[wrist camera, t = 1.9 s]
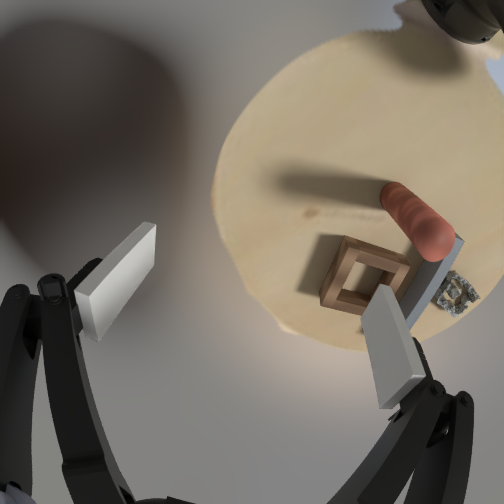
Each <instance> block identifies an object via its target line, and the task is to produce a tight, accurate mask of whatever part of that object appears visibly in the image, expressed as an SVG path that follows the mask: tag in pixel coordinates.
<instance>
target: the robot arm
mask: <svg viewBox="0 0 504 504" xmlns="http://www.w3.org/2000/svg"><path fill="white" fill-rule="evenodd" d="M422 2H423V4H424V6H425V7H426V9H427V11H428V12H429V14H430V15H431V16H432V18H433V19H434V20H435V21H436V22H437V24H438V25H439V26H440V27H441V28H442V29H444V30H445V31H446V32H447V33H448V34H450V35H451V36H452V37H454V38H456V39H457V40H459V41H461V42H464V43H467V44H474V45H475V44H481V43H485V42H487V41H489V40H490V39H491V38H492V37H493V36H494V35H495V34H496V33H497V32H498V31H499V30H500V29H502V31H503V33H504V0H422ZM155 234H156V225H155V224H152V223H148V222H143V223H142V224H141V225H140V226H139V227H138V228H137V229H136V230H134V231H133V232H132V233H131V234H130V235H129V236H128V237H127V238H126V239H125V240H124V241H123V242H121V243H120V244H119V245H118V246H117V247H116V248H115V249H114V250H113V251H112V252H111V253H110V254H109V255H108V256H107V257H106V258H105V259H104V260H103V259H100V258H95V259H93V260H91V261H89V262H88V263H87V264H86V265H85V266H84V267H83V269H81V270H80V271H79V272H78V274H76V275H75V276H74V277H73V278H72V279H71V280H70V281H69V282H68V283H67V284H66V281H65V278H64V277H63V276H62V275H60V274H48V275H45V276H44V277H42V278H41V279H40V280H39V281H38V284H37V287H38V291H39V294H40V296H39V295H32V294H30V291H29V288H28V287H27V286H26V285H24V284H16V285H14V286H12V287H11V288H9V289H8V291H7V292H6V294H5V296H4V299H3V302H2V304H1V306H0V504H36V502H35V501H34V500H33V499H32V498H31V495H32V455H31V432H32V412H33V399H34V389H35V381H36V374H37V367H38V361H39V355H40V350H41V345H43V356H44V357H43V358H44V367H45V375H46V383H47V390H48V397H49V402H50V408H51V413H52V418H53V422H54V426H55V430H56V435H57V439H58V443H59V446H60V449H61V453H62V457H63V464H62V472H63V476H64V479H65V482H66V485H67V487H68V490H69V492H70V495H71V497H72V500H73V502H74V504H194V503H190V502H186V501H183V500H179V499H175V498H172V497H168V496H167V499H162V498H152V499H145V500H139V501H136V500H135V498H134V496H133V494H132V492H131V490H130V489H129V487H128V485H127V483H126V481H125V479H124V478H123V476H122V474H121V472H120V470H119V468H118V465H117V463H116V461H115V458H114V456H113V454H112V451H111V448H110V446H109V443H108V440H107V438H106V435H105V432H104V429H103V427H102V424H101V421H100V417H99V414H98V411H97V408H96V405H95V401H94V398H93V394H92V390H91V387H90V383H89V379H88V375H87V371H86V366H85V362H84V358H83V352H82V347H81V342H80V337H79V333H80V331H81V330H82V329H83V330H84V334H85V337H87V338H90V339H92V340H94V341H96V342H100V340H101V339H102V337H103V335H104V334H105V333H106V331H107V330H108V328H109V327H110V325H111V323H112V322H113V321H114V319H115V318H116V317H117V315H118V314H119V312H120V311H121V309H122V308H123V307H124V305H125V304H126V302H127V301H128V300H129V298H130V297H131V296H132V294H133V293H134V291H135V290H136V289H137V287H138V286H139V284H140V283H141V282H142V281H143V279H144V278H145V276H146V275H147V274H148V273H149V271H150V270H151V269H152V267H153V266H154V252H155ZM360 319H361V323H362V327H363V331H364V335H365V339H366V344H367V348H368V352H369V357H370V361H371V366H372V371H373V376H374V381H375V385H376V391H377V397H378V403H379V408H380V409H393V408H394V407H395V406H396V405H397V404H398V403H400V409H399V410H398V411H397V412H396V413H395V414H394V415H392V416H391V417H390V418H389V419H388V420H389V421H390V420H391V419H392V420H391V422H390V423H389V425H388V426H387V428H386V430H385V431H384V433H383V434H382V436H381V437H380V438H379V440H378V441H377V443H376V444H375V446H374V447H373V449H372V450H371V451H370V453H369V454H368V455H367V457H366V458H365V459H364V461H363V462H362V463H361V464H360V466H359V467H358V468H357V469H356V471H355V472H354V473H353V474H352V476H351V477H350V478H349V479H348V481H347V482H346V483H345V484H344V485H343V486H342V487H341V489H340V490H339V491H338V492H337V493H336V494H335V496H333V498H331V500H330V501H329V502H328V503H327V504H394V502H395V501H396V499H397V498H398V496H399V495H400V493H401V491H402V489H403V488H404V486H405V485H406V483H407V481H408V480H409V478H410V476H411V474H412V473H413V471H414V473H413V476H412V480H411V483H410V486H409V489H408V492H407V495H406V498H405V501H404V504H463V503H464V499H465V494H466V489H467V483H468V477H469V471H470V463H471V455H472V444H473V428H474V402H473V399H472V397H471V396H470V394H468V393H467V392H465V391H460V392H459V393H458V394H457V395H456V396H452V395H450V394H447V393H446V390H445V388H444V386H443V385H442V384H441V383H440V382H439V381H437V380H433V377H432V374H431V371H430V369H429V366H428V363H427V360H425V359H426V358H425V355H424V354H423V350H422V347H421V345H420V343H419V342H418V341H417V339H416V338H415V337H412V336H411V333H410V331H409V328H408V326H407V323H406V321H405V318H404V316H403V314H402V311H401V309H400V307H399V304H398V302H397V300H396V297H395V295H394V293H393V291H392V289H391V287H390V286H387V285H383V284H380V285H379V287H378V288H377V290H376V292H375V294H374V296H373V297H372V299H371V301H370V303H369V304H368V306H367V308H366V310H365V311H364V313H363V315H362V316H361V318H360ZM447 430H448V433H447V435H446V432H447ZM414 469H415V470H414Z"/></svg>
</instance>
